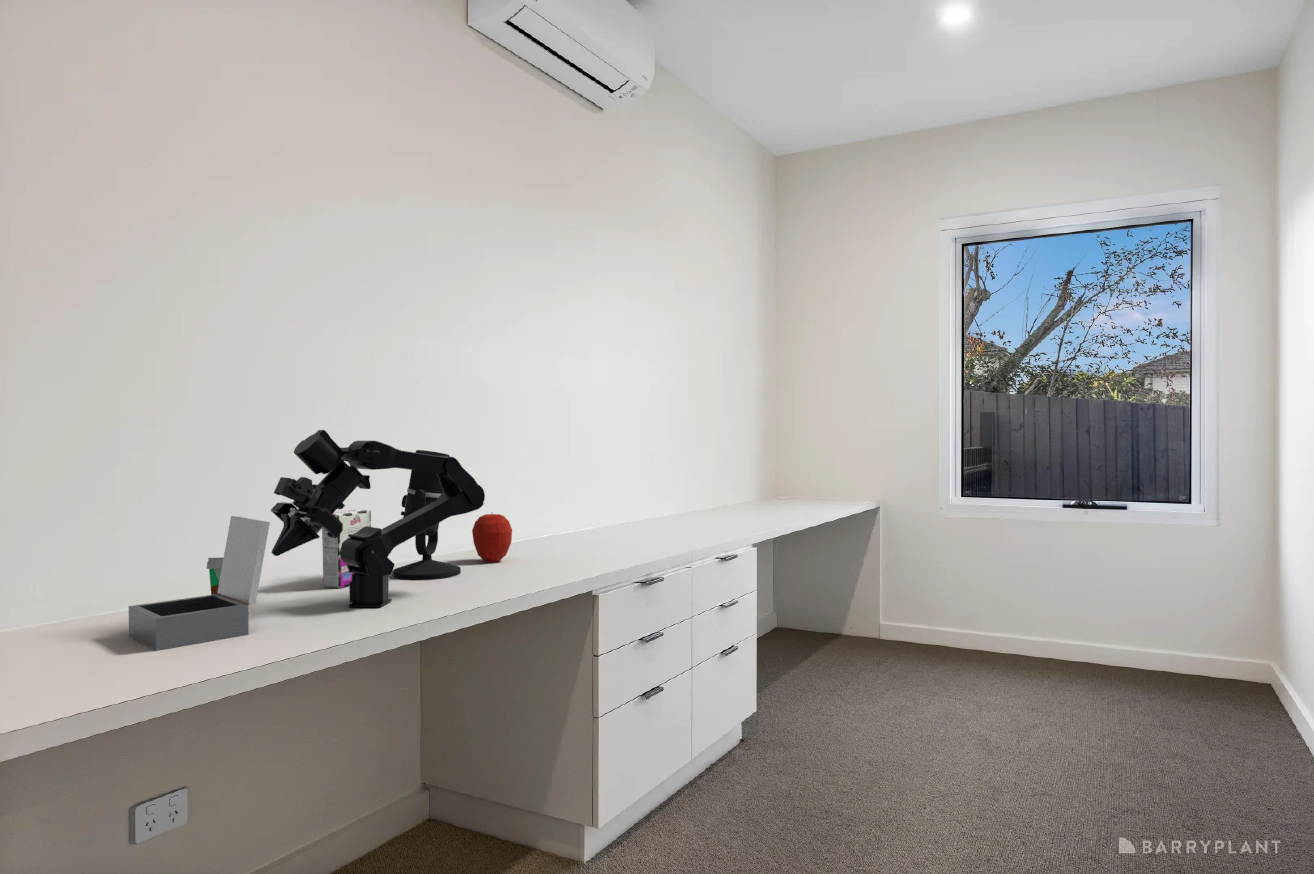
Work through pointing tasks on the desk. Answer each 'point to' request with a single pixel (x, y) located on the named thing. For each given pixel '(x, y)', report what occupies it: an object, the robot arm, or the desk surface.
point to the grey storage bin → (187, 621)
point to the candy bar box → (332, 562)
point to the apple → (492, 537)
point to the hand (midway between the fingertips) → (273, 554)
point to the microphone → (419, 495)
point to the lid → (243, 559)
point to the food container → (216, 575)
